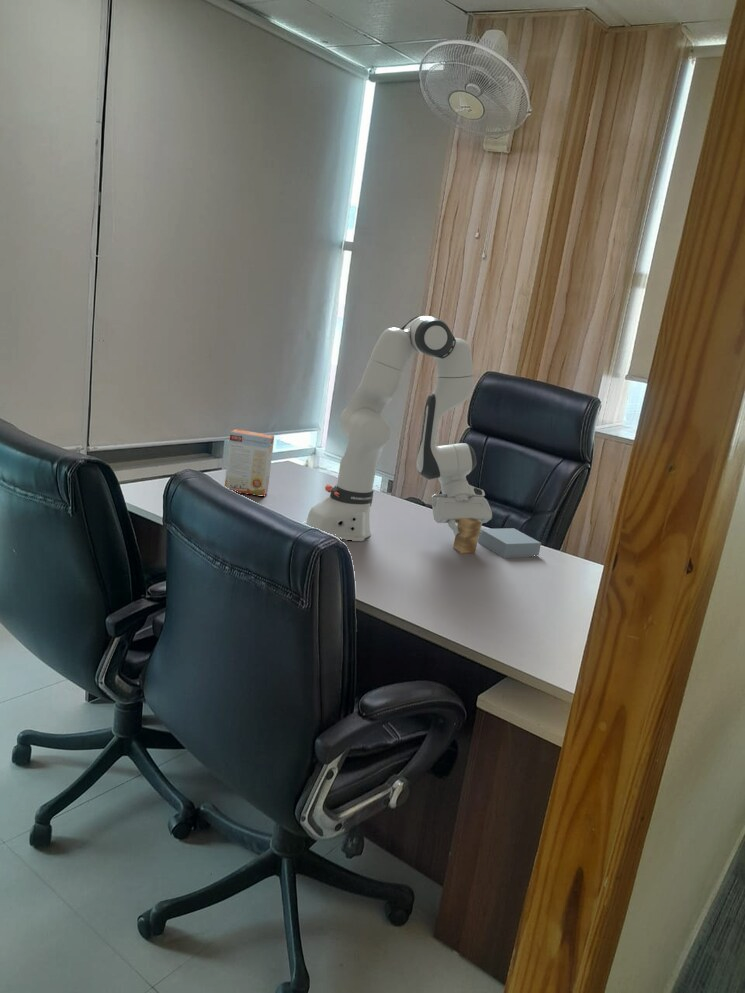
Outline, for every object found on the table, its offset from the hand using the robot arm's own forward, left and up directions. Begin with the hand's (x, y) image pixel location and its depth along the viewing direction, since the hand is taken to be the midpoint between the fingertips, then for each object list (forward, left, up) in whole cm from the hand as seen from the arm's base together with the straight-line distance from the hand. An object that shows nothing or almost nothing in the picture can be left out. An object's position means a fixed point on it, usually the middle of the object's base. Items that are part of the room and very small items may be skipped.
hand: (468, 534), depth 244 cm
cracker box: (-52, +59, -6) cm, 79 cm away
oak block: (0, +1, -5) cm, 5 cm away
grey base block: (+17, +1, -6) cm, 18 cm away
